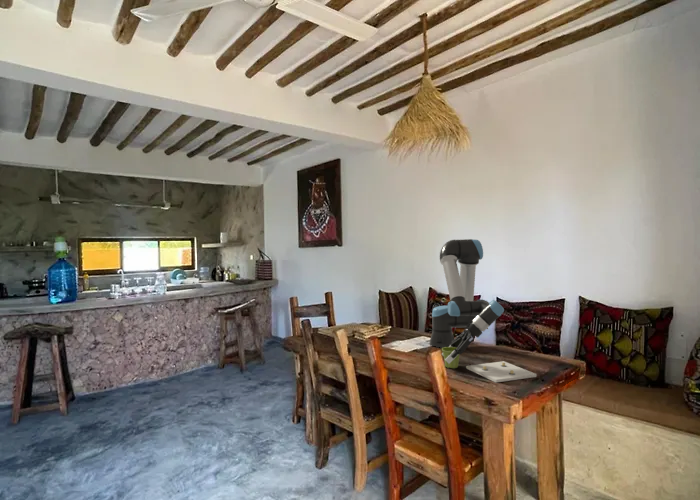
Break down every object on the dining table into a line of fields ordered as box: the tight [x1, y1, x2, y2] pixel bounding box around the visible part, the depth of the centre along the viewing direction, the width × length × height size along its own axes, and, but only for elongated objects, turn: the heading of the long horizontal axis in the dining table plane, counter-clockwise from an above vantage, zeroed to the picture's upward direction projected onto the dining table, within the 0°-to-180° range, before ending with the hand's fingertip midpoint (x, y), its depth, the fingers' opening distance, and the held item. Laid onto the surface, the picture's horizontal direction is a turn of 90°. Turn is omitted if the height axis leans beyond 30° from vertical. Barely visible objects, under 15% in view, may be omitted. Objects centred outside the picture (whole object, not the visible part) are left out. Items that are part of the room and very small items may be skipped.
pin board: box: [465, 360, 538, 383], centre depth 190 cm, size 22×22×3 cm
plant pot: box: [441, 347, 461, 369], centre depth 200 cm, size 9×9×9 cm
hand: (445, 358), depth 200 cm, fingers closed on plant pot, 9 cm apart
